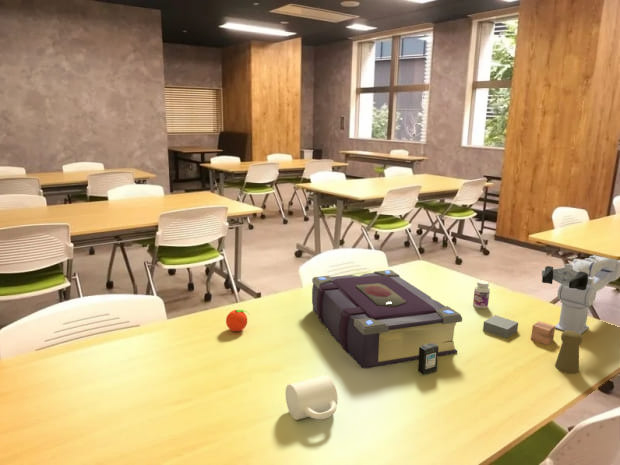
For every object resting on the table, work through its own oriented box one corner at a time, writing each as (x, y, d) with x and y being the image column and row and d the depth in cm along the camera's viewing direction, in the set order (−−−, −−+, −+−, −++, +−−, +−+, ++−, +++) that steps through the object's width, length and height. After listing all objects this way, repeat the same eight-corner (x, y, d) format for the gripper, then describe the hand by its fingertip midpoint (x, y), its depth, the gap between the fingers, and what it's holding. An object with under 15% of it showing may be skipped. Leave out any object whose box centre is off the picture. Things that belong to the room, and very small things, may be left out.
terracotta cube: (537, 335, 152) (539, 321, 151) (553, 340, 148) (555, 326, 147) (530, 339, 148) (532, 325, 147) (546, 345, 145) (549, 330, 144)
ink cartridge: (423, 376, 126) (424, 349, 124) (417, 372, 128) (419, 345, 126) (437, 371, 128) (438, 345, 126) (431, 367, 130) (433, 342, 128)
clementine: (246, 323, 157) (246, 304, 155) (253, 332, 151) (253, 311, 149) (223, 328, 153) (223, 308, 152) (229, 336, 147) (229, 315, 146)
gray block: (494, 324, 160) (495, 315, 159) (517, 332, 154) (518, 322, 153) (482, 331, 155) (483, 321, 154) (506, 339, 149) (507, 329, 148)
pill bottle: (471, 306, 174) (473, 282, 172) (474, 302, 178) (477, 278, 176) (486, 310, 171) (489, 285, 169) (489, 305, 176) (491, 281, 173)
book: (357, 371, 128) (359, 325, 125) (307, 310, 170) (307, 273, 166) (459, 354, 139) (463, 311, 135) (388, 300, 180) (390, 266, 177)
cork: (582, 375, 128) (588, 338, 125) (558, 372, 129) (564, 336, 126) (574, 364, 133) (580, 329, 131) (552, 361, 135) (557, 326, 132)
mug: (285, 407, 111) (285, 378, 109) (321, 397, 116) (322, 368, 114) (307, 437, 101) (307, 405, 99) (346, 425, 105) (347, 394, 103)
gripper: (550, 258, 153) (533, 264, 144) (600, 265, 142) (584, 273, 133) (548, 278, 154) (531, 286, 145) (597, 288, 143) (582, 297, 134)
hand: (556, 282), depth 139 cm, fingers open, 7 cm apart
